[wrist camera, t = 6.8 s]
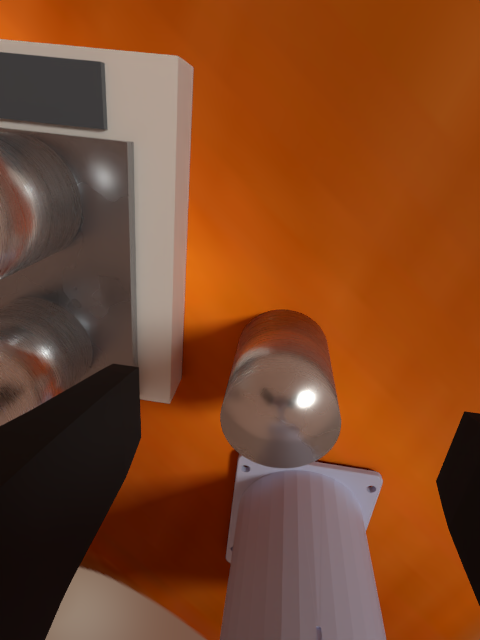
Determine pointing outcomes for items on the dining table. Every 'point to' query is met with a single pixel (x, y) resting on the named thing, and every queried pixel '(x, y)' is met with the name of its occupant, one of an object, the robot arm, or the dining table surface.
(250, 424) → the cylinder
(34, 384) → the cylinder
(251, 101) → the dining table surface
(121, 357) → the grey metal plate
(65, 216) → the cylinder
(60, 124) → the scale
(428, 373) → the dining table surface
